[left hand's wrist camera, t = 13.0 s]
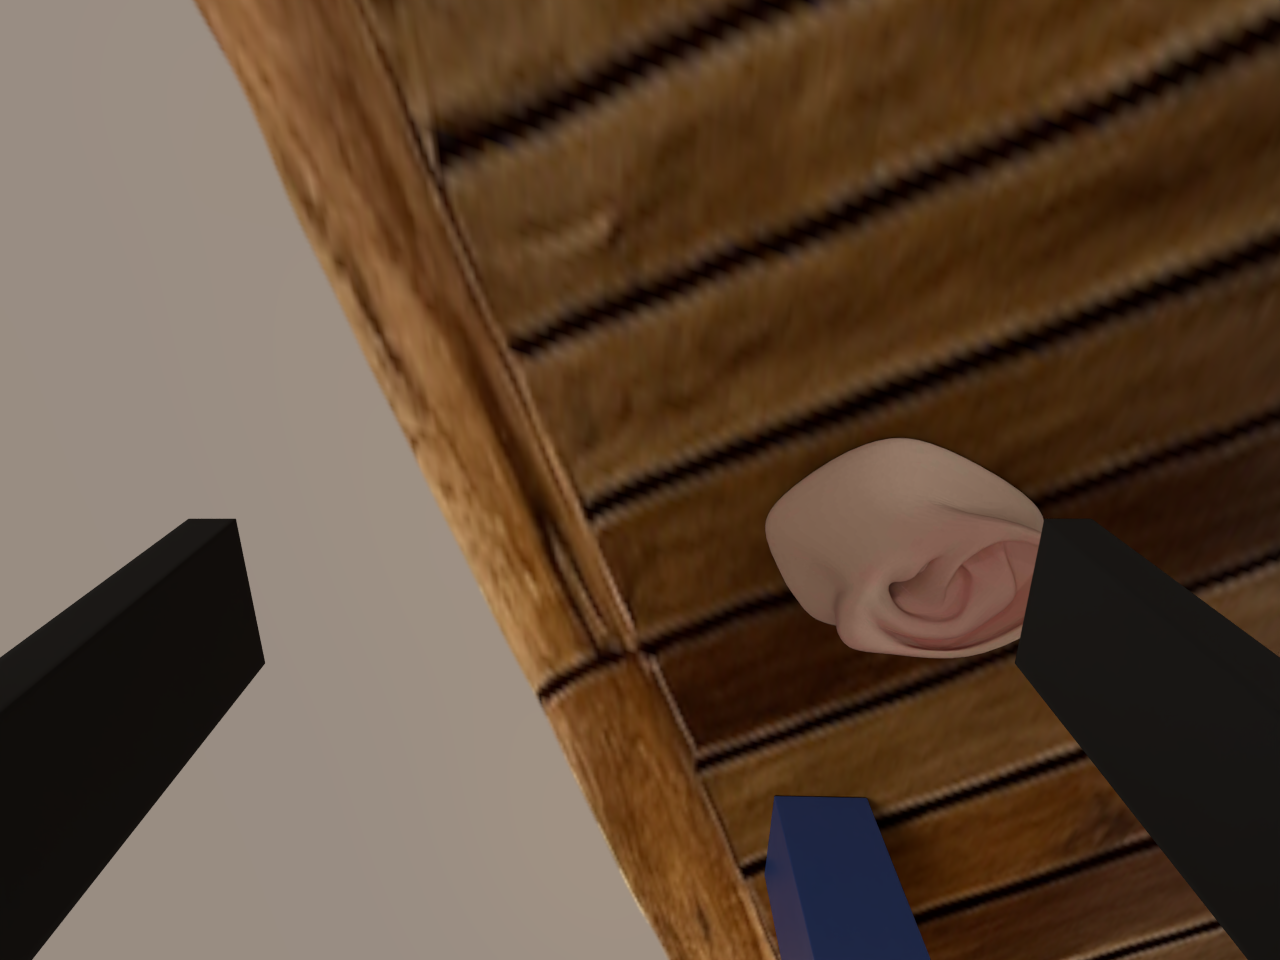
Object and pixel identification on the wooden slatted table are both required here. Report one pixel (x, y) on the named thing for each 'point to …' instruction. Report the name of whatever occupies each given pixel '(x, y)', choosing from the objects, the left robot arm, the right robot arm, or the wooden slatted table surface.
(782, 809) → the block
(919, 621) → the anatomical model
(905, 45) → the wooden slatted table surface
